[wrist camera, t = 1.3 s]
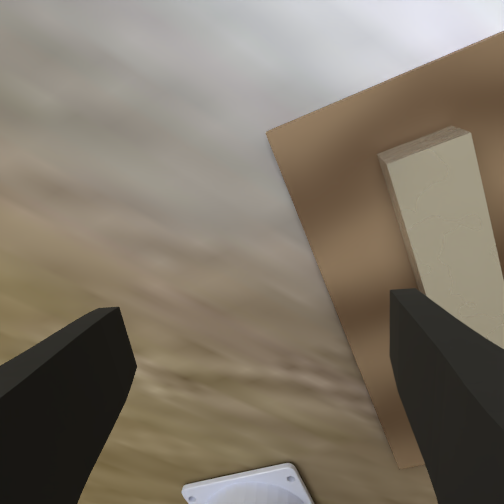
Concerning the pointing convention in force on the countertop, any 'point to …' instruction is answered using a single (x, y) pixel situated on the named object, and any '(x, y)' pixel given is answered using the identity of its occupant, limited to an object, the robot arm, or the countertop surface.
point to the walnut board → (387, 197)
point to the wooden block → (448, 227)
